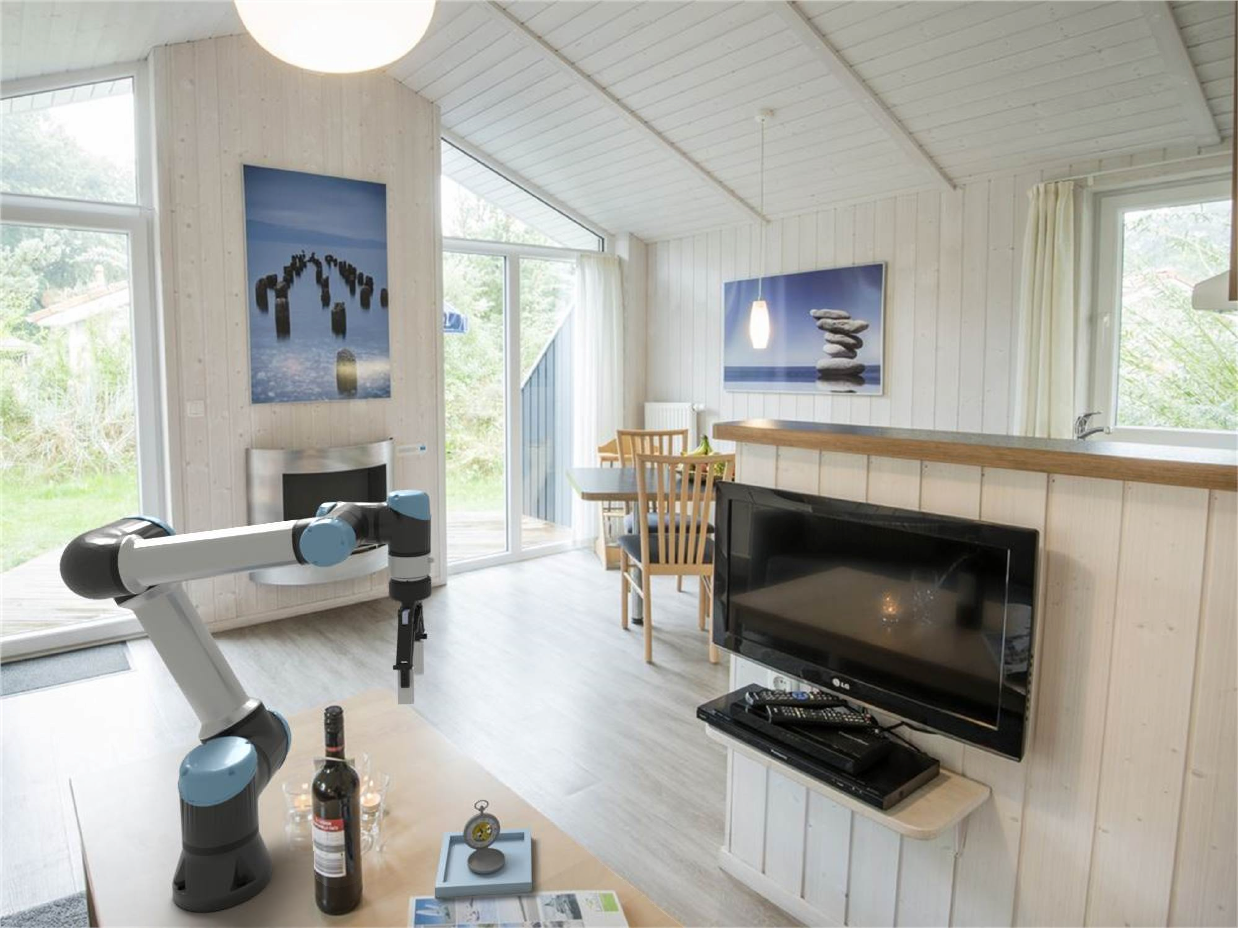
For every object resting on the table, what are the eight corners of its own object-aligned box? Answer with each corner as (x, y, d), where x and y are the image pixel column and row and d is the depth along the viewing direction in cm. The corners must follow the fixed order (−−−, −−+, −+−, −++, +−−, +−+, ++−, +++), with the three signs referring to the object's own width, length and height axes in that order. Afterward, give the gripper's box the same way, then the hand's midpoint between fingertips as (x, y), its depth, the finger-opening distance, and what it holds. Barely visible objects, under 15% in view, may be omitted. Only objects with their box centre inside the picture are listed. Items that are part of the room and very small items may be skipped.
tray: (434, 897, 134) (434, 887, 134) (444, 841, 150) (444, 832, 150) (531, 891, 136) (531, 881, 136) (530, 836, 152) (530, 827, 152)
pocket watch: (486, 880, 138) (486, 825, 137) (451, 862, 143) (451, 809, 141) (518, 857, 145) (518, 804, 143) (484, 841, 149) (484, 790, 148)
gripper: (422, 595, 134) (423, 716, 137) (438, 559, 159) (439, 662, 162) (376, 595, 134) (378, 717, 136) (399, 559, 158) (400, 663, 161)
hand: (411, 688), depth 149 cm, fingers open, 13 cm apart
